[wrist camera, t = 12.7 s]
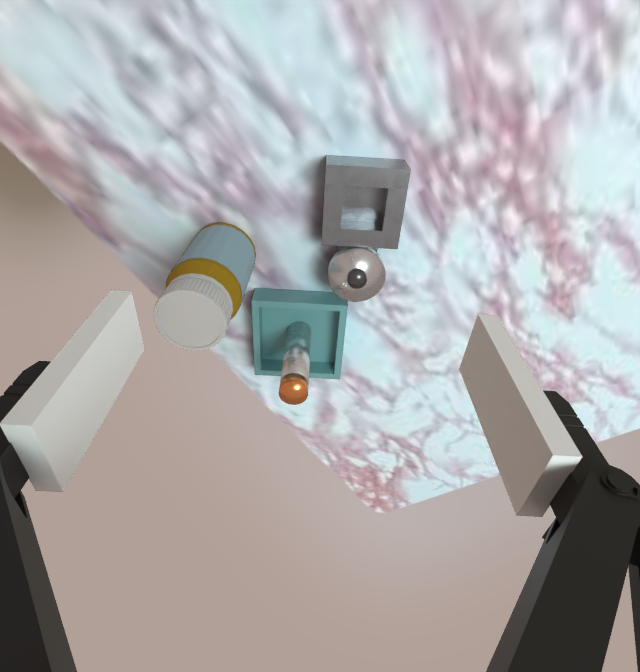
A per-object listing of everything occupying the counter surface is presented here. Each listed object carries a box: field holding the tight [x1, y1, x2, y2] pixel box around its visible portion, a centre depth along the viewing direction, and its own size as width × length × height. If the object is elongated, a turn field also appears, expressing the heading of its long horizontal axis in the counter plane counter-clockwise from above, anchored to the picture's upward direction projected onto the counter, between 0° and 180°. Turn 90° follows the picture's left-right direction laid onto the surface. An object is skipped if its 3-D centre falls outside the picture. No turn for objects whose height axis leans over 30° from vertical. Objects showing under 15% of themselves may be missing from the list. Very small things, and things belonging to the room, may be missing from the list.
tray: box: [251, 288, 348, 379], centre depth 53 cm, size 11×11×3 cm
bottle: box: [154, 223, 256, 351], centre depth 42 cm, size 7×7×15 cm
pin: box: [279, 321, 311, 405], centre depth 49 cm, size 3×3×12 cm
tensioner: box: [322, 155, 411, 302], centre depth 44 cm, size 14×8×5 cm, turn 177°
